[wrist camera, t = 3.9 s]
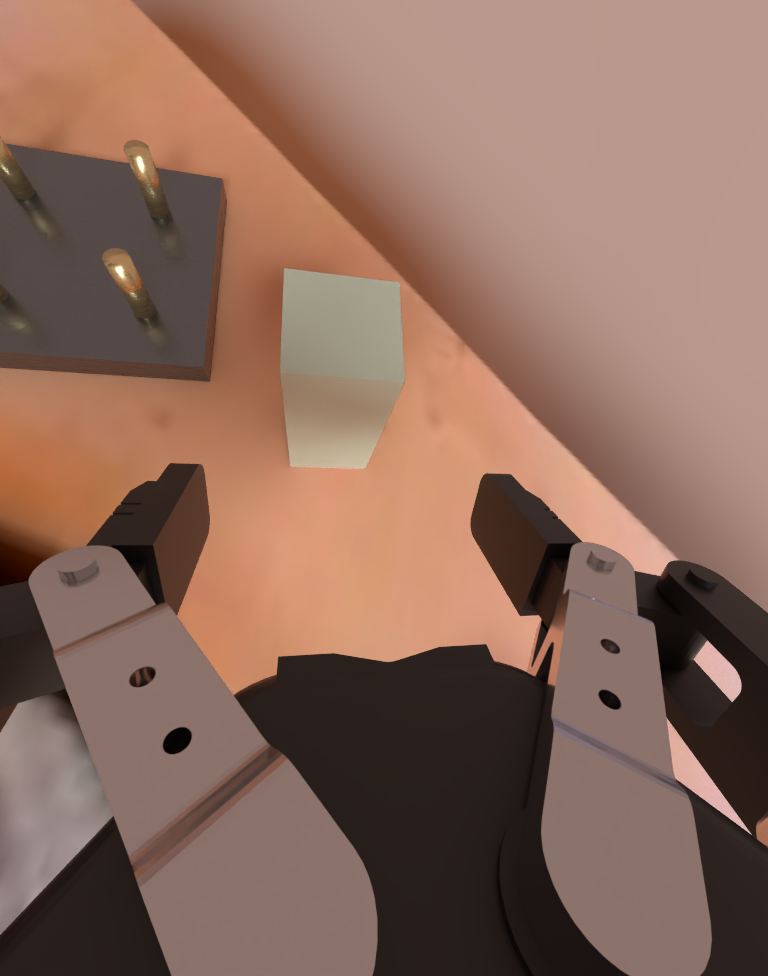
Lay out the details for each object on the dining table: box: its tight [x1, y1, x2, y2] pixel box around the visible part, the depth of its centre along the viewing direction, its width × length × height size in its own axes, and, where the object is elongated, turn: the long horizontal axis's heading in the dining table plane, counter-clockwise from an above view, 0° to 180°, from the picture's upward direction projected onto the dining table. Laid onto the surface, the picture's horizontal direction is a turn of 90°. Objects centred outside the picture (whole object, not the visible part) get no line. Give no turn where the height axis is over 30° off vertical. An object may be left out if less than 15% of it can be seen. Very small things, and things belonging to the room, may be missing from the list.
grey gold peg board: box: [0, 137, 227, 381], centre depth 21 cm, size 14×14×5 cm
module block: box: [280, 268, 405, 469], centre depth 19 cm, size 4×4×10 cm
